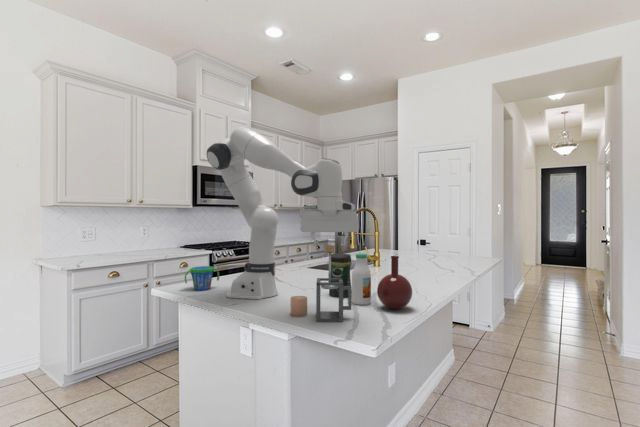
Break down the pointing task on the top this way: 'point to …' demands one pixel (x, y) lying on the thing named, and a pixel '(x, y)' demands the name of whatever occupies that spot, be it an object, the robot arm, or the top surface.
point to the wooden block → (298, 306)
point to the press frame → (335, 315)
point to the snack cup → (202, 277)
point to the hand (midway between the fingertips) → (329, 245)
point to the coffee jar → (340, 272)
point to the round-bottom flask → (394, 288)
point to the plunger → (329, 250)
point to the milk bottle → (361, 281)
